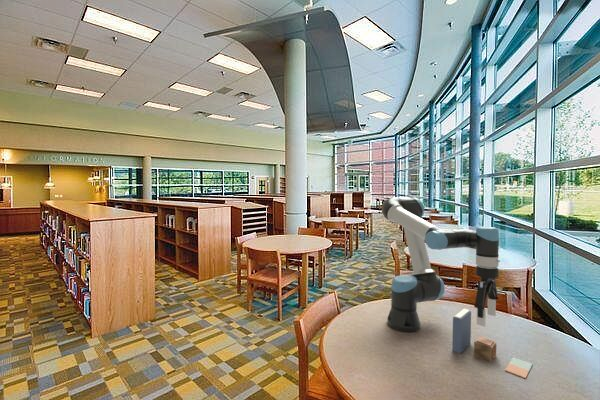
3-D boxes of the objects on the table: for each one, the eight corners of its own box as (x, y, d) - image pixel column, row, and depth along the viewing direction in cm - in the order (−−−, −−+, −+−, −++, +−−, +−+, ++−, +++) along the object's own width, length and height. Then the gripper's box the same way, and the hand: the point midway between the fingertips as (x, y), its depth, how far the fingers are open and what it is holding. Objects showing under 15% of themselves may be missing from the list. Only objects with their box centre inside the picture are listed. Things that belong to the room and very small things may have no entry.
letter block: (473, 355, 116) (474, 340, 116) (478, 349, 120) (479, 335, 120) (492, 362, 111) (492, 346, 111) (496, 356, 115) (496, 341, 115)
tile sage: (509, 364, 110) (509, 363, 110) (512, 358, 114) (513, 357, 114) (529, 371, 105) (529, 370, 105) (532, 364, 110) (532, 363, 110)
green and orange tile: (504, 370, 106) (504, 369, 106) (509, 364, 110) (509, 363, 110) (525, 378, 101) (525, 377, 101) (529, 371, 105) (529, 370, 105)
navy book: (452, 350, 119) (453, 316, 119) (462, 340, 127) (463, 307, 127) (460, 353, 117) (461, 318, 116) (470, 343, 125) (471, 310, 124)
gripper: (488, 274, 103) (487, 333, 104) (506, 262, 120) (506, 313, 121) (465, 270, 109) (464, 326, 109) (485, 259, 126) (485, 308, 126)
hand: (486, 320), depth 115 cm, fingers open, 13 cm apart
